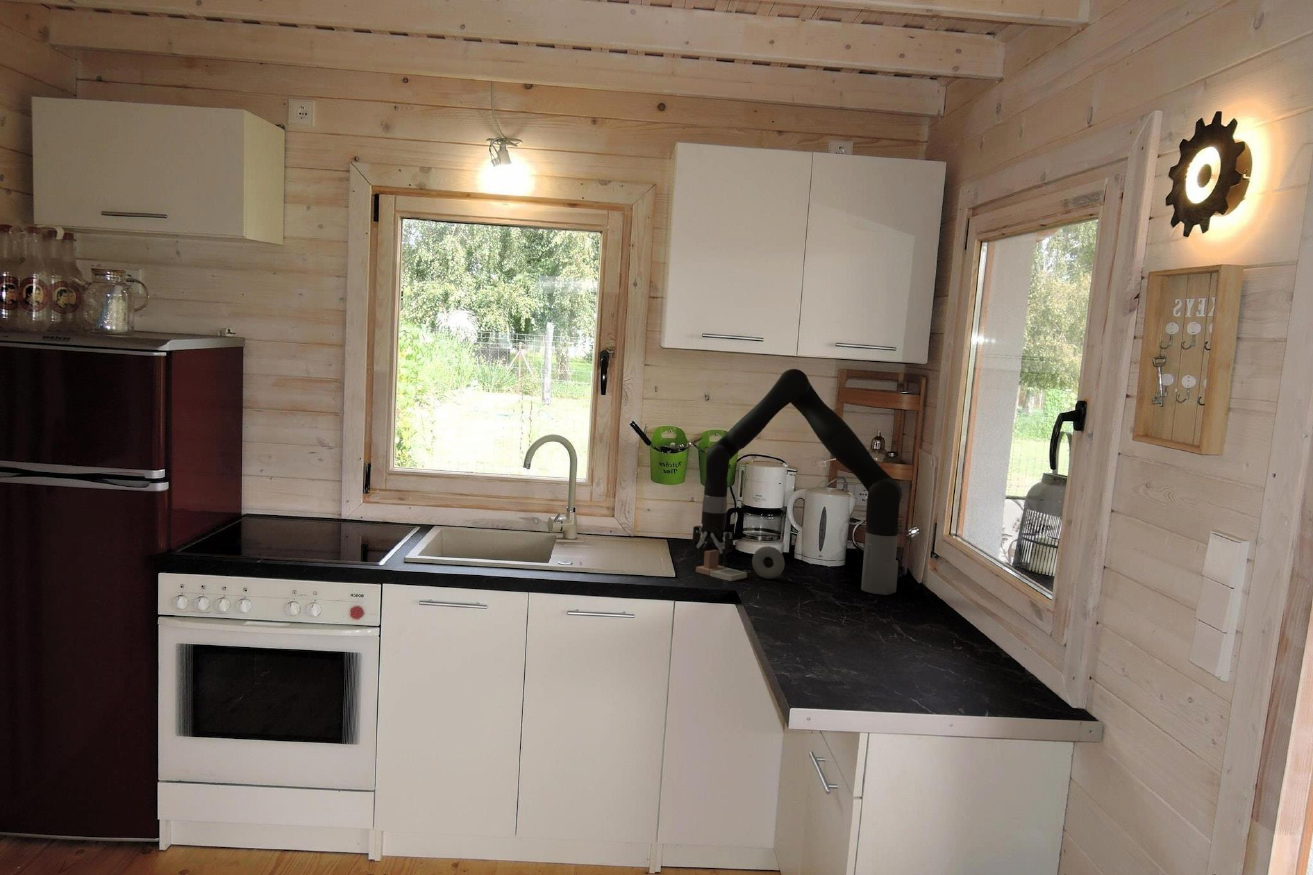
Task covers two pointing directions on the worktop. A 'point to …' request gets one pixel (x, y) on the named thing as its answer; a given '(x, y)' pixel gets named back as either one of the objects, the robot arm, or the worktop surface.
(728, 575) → the control panel
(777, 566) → the donut
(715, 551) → the stub
